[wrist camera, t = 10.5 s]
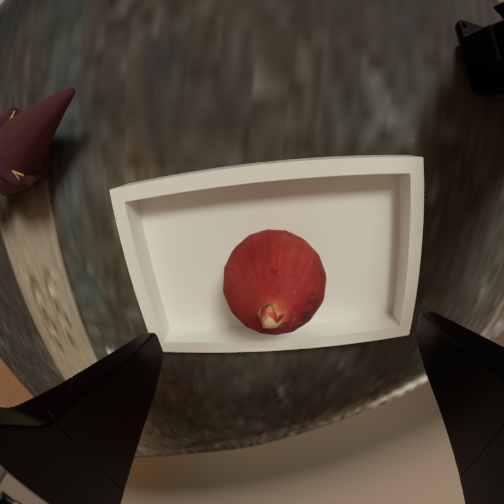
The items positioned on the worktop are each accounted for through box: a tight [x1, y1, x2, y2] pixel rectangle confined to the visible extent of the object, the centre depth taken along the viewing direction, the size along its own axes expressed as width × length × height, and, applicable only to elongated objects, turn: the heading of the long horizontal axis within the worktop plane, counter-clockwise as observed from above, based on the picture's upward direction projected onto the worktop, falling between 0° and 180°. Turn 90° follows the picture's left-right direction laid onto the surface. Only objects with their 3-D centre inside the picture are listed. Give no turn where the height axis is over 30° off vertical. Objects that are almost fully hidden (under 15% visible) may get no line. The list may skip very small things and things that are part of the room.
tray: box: [110, 155, 424, 353], centre depth 19 cm, size 20×13×2 cm, turn 97°
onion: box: [223, 229, 327, 335], centre depth 16 cm, size 6×6×8 cm
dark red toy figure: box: [0, 88, 75, 196], centre depth 16 cm, size 7×7×15 cm
